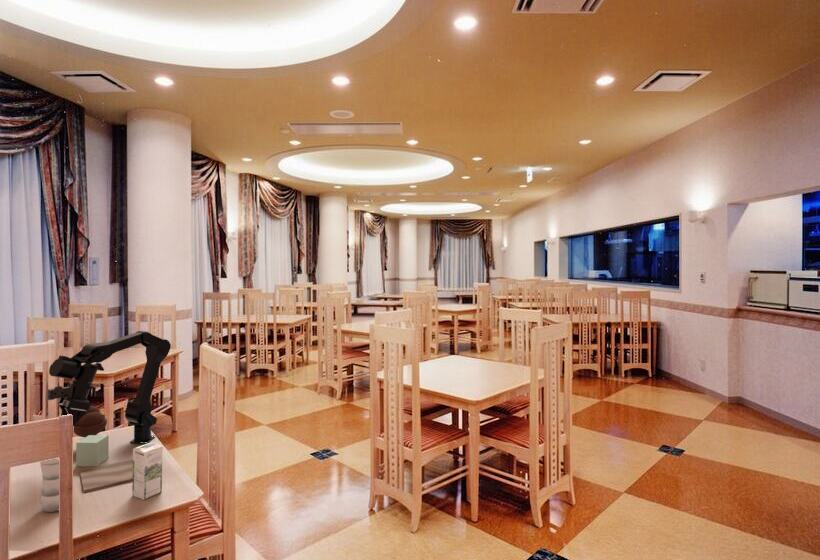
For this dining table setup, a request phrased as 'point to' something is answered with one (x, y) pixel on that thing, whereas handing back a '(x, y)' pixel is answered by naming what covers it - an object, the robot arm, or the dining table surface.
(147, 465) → the syrup box
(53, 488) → the plastic bottle
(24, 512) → the dining table surface
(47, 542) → the dining table surface
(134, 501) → the dining table surface
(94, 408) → the ice cream bowl
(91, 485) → the walnut board
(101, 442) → the mint green cube
